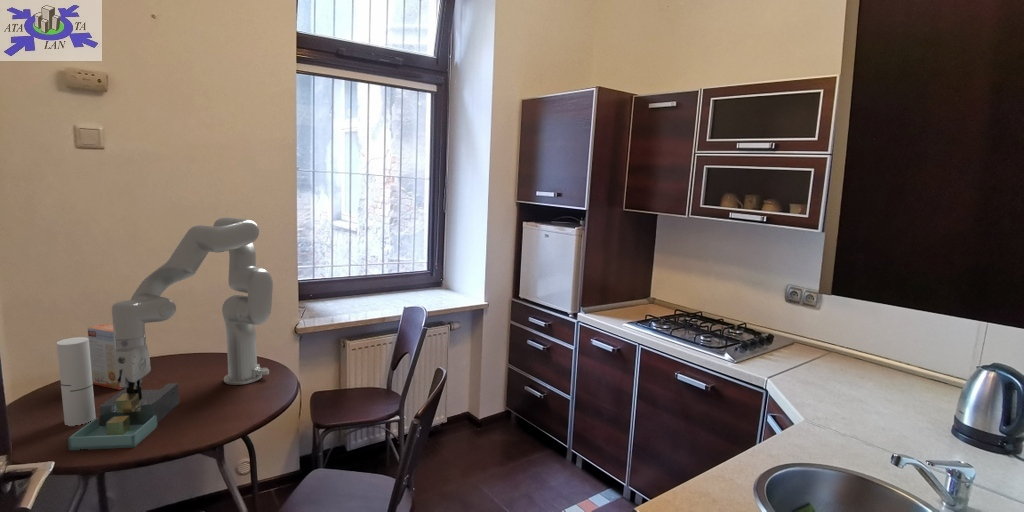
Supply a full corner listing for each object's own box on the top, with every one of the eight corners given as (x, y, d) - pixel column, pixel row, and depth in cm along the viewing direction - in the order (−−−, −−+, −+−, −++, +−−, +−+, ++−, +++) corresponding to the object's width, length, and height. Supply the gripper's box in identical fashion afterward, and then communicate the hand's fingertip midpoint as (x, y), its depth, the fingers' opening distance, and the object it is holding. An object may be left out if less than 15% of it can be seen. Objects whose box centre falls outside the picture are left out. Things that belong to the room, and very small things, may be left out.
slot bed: (179, 403, 167) (178, 383, 166) (153, 426, 151) (152, 404, 150) (132, 404, 165) (130, 384, 164) (101, 428, 149) (99, 406, 148)
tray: (157, 426, 151) (156, 415, 151) (134, 447, 140) (133, 435, 139) (97, 428, 149) (96, 417, 148) (69, 450, 137) (67, 438, 137)
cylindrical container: (76, 415, 157) (69, 337, 153) (101, 415, 157) (94, 337, 154) (58, 426, 150) (50, 344, 146) (84, 426, 150) (76, 344, 147)
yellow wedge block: (140, 404, 153) (138, 393, 152) (132, 412, 149) (130, 400, 148) (125, 405, 153) (123, 393, 151) (117, 412, 149) (115, 400, 148)
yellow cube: (129, 415, 148) (122, 421, 144) (130, 428, 148) (123, 435, 144) (113, 416, 147) (106, 423, 143) (114, 429, 147) (107, 436, 143)
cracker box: (136, 384, 180) (132, 327, 177) (118, 390, 175) (114, 332, 172) (109, 378, 185) (105, 322, 182) (91, 384, 179) (86, 327, 176)
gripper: (129, 350, 145) (134, 410, 147) (157, 334, 159) (161, 390, 162) (100, 350, 143) (105, 411, 146) (131, 334, 158) (135, 390, 161)
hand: (134, 400), depth 154 cm, fingers closed
